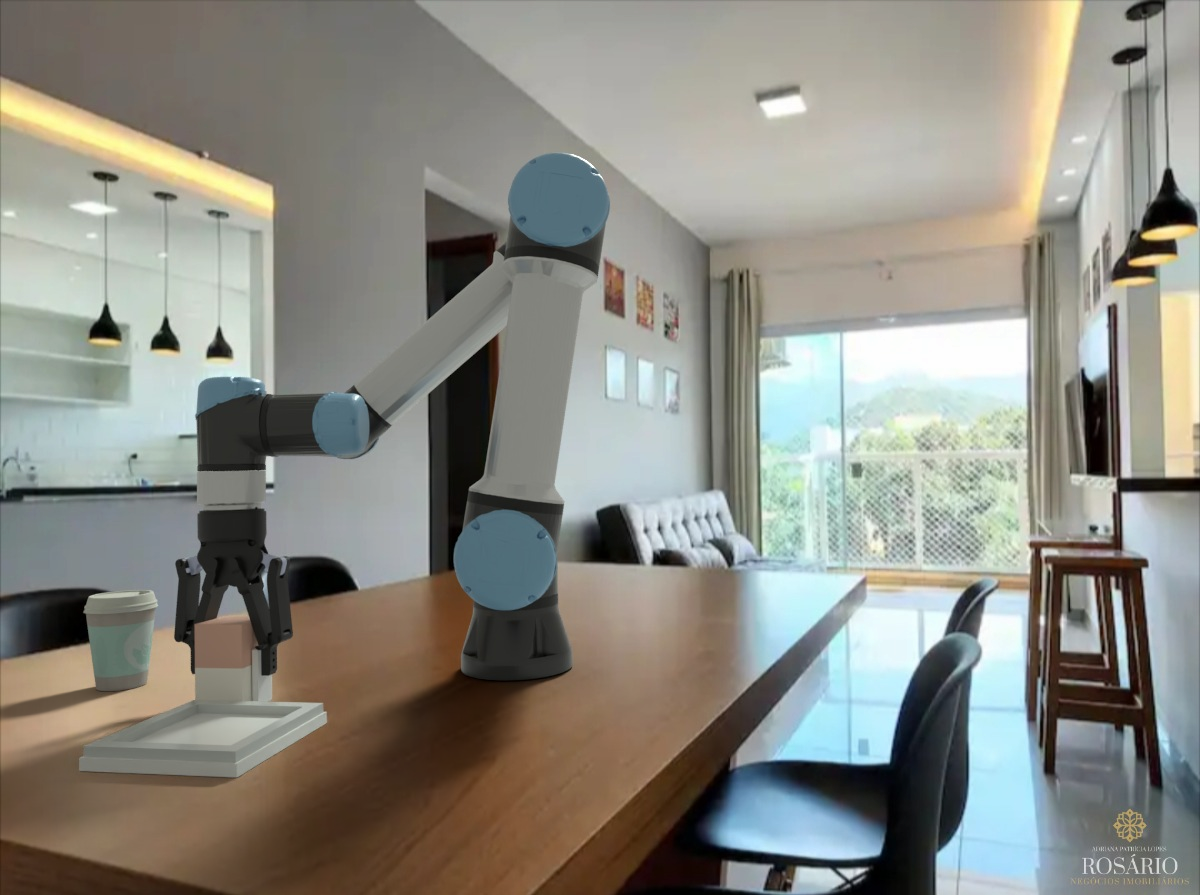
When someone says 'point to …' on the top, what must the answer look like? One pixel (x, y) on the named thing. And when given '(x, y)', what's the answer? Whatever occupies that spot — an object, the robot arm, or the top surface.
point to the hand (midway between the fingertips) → (234, 701)
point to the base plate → (205, 738)
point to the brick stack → (224, 658)
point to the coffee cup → (121, 637)
